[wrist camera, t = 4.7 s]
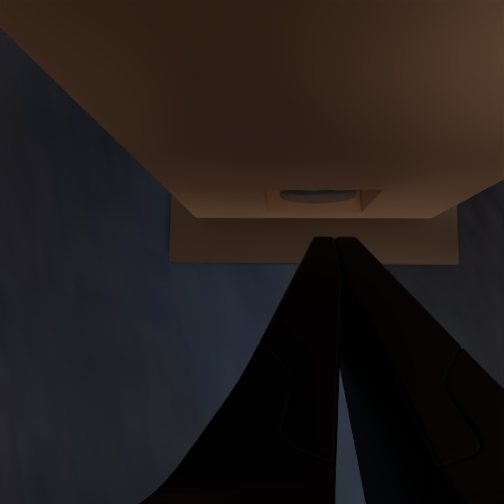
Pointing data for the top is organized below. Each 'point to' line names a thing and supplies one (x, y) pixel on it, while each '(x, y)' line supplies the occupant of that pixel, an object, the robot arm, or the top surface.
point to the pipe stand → (310, 238)
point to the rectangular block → (286, 97)
